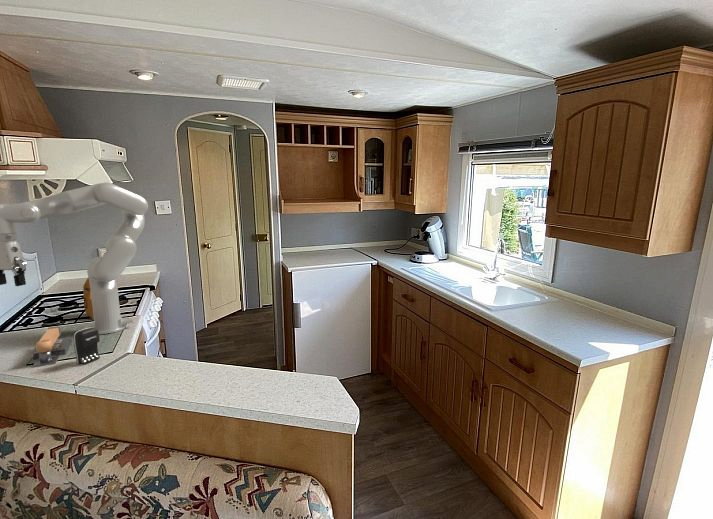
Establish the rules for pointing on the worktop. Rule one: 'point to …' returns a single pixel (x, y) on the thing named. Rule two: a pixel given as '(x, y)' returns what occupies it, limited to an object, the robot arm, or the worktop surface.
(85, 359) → the battery charger
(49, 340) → the swing bar
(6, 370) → the worktop surface
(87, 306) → the coffee package
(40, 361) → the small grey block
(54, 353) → the label panel
